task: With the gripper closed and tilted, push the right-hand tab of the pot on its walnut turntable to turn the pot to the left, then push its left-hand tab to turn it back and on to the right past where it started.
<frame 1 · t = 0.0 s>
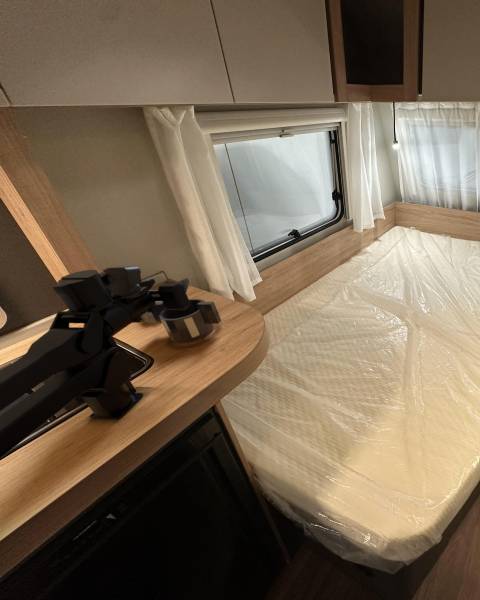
hand: (171, 280, 79), 17 cm above the kitchen counter, tool horizontal, fingers open, 9 cm apart
turntable: (195, 334, 87), on the kitchen counter
fossilized seashell: (167, 315, 97), on the kitchen counter
pot: (187, 317, 84), point 6 cm above the kitchen counter, hinge at 0.0°
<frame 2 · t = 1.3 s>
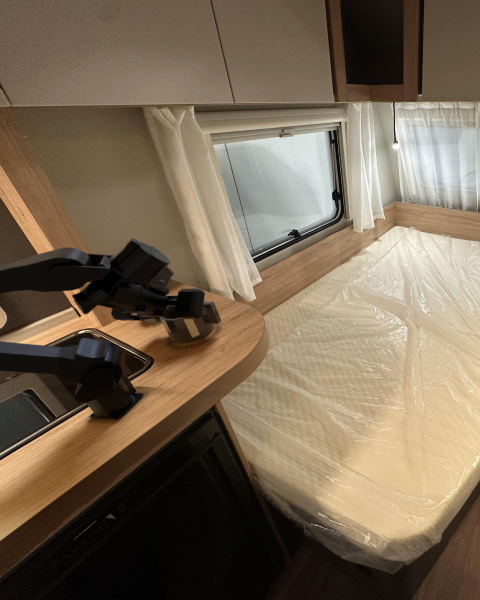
hand: (187, 312, 75), 11 cm above the kitchen counter, tool tilted 45°, fingers open, 9 cm apart
nothing on the kitchen counter moved.
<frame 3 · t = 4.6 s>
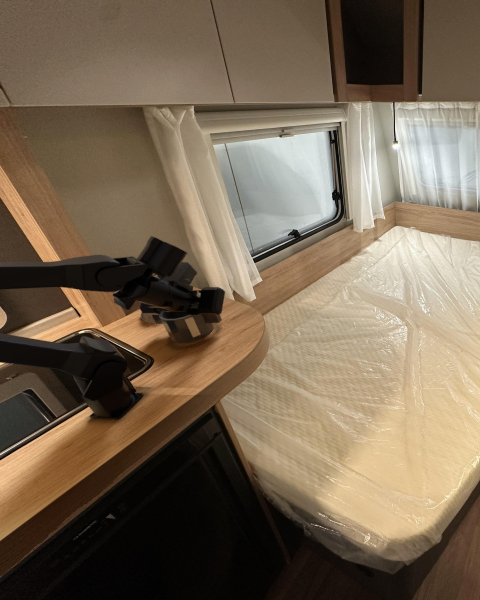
hand: (207, 309, 81), 9 cm above the kitchen counter, tool tilted 45°, fingers closed, pressing on pot
pot: (187, 317, 84), point 6 cm above the kitchen counter, hinge at 2.0°, touching gripper
everything else where it was.
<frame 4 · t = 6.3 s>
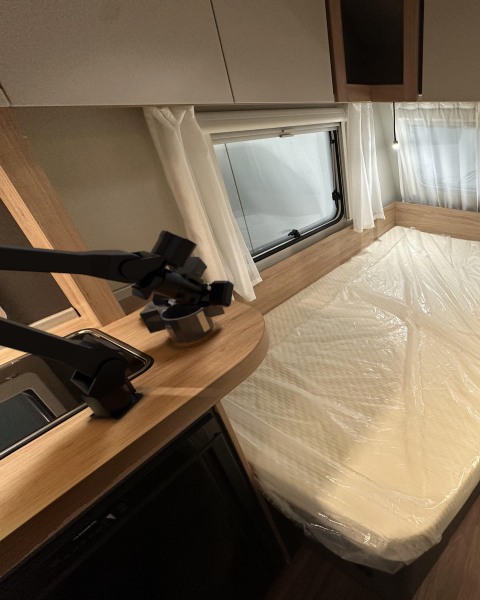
hand: (215, 302, 85), 8 cm above the kitchen counter, tool tilted 45°, fingers closed
pot: (187, 317, 84), point 6 cm above the kitchen counter, hinge at 32.1°, touching gripper
everything else where it was.
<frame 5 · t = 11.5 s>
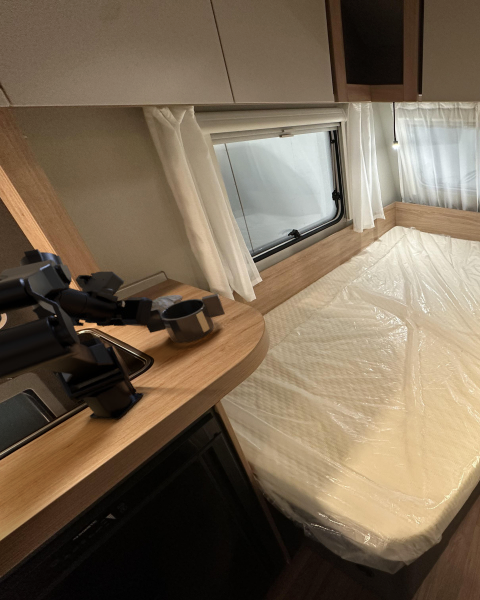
hand: (140, 319, 79), 9 cm above the kitchen counter, tool tilted 45°, fingers closed
pot: (187, 317, 84), point 6 cm above the kitchen counter, hinge at 30.3°, touching gripper
everything else where it was.
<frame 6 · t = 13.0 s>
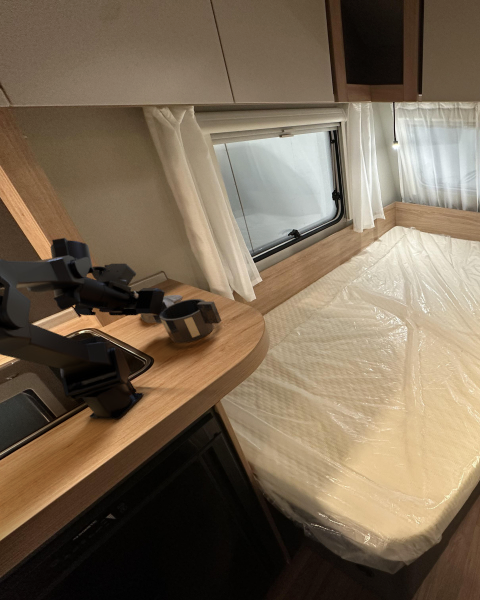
hand: (148, 309, 83), 9 cm above the kitchen counter, tool tilted 45°, fingers closed, pressing on pot
pot: (187, 317, 84), point 6 cm above the kitchen counter, hinge at 0.4°, touching gripper
everything else where it was.
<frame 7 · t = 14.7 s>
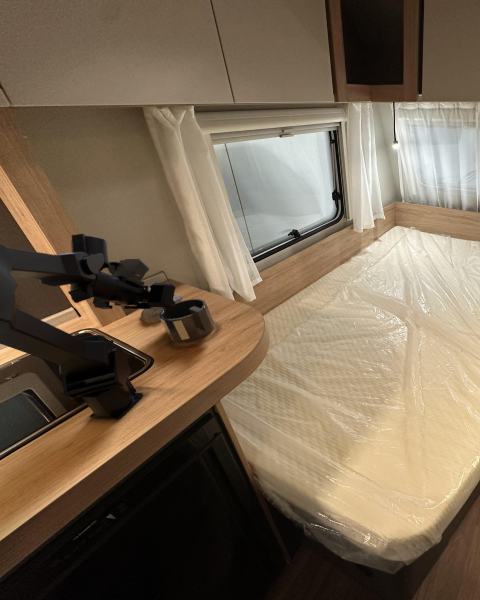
hand: (162, 304, 85), 9 cm above the kitchen counter, tool tilted 45°, fingers closed
pot: (187, 317, 84), point 6 cm above the kitchen counter, hinge at -25.2°
everything else where it was.
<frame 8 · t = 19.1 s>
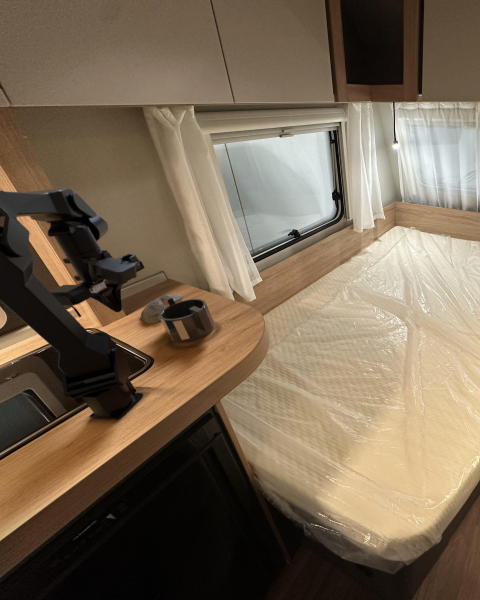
hand: (118, 311, 76), 12 cm above the kitchen counter, tool pointing down, fingers closed
nothing on the kitchen counter moved.
at the end: pot reached +32° during the clip, -25° at the end; pot at -25° (first picture: +0°) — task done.
